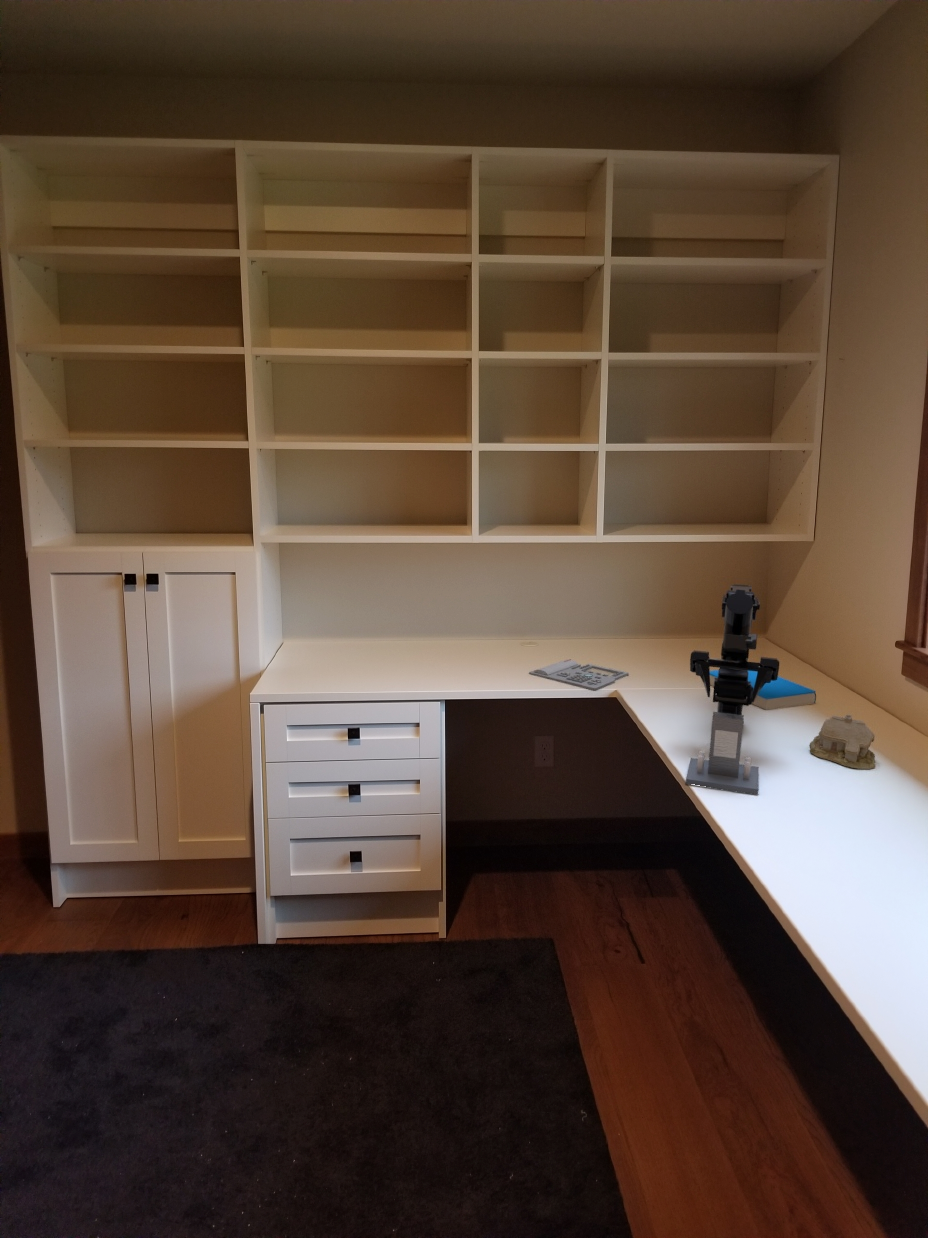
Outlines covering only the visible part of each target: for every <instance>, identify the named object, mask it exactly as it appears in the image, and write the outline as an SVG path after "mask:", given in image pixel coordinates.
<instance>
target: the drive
mask: <svg viewBox="0 0 928 1238" xmlns="http://www.w3.org/2000/svg"><path fill="white" fill-rule="evenodd" d="M744 717H745V716H744V714H742V715H737V714H729V713H720V712H718V711H713V712H712V720H711V729H710V731H711V733H710V740H709V741H710V743H709V752H708V760H709V764H708V774H714V775H721V776H728V777H735V778H738V773H739V764H740V762H741V761H740V760H741V749H742V740H743V729H744V728H743V727H744V724H743V721H744Z"/></svg>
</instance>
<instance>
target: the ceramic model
mask: <svg viewBox="0 0 928 1238" xmlns="http://www.w3.org/2000/svg"><path fill="white" fill-rule="evenodd" d="M874 741H875V734H874V732H873V731H872V730H871V729H870V728H869V727H868V726H867V725H866V722H865V721H863V720H858V719H853V716H852V715H851V714H845V716H844V717H842V716H838V715H832V716H831V717H830V718H827V719H825V721H824V722H823V724H822V726H821V728H820V731H819V732H818V735H816V736H814V738H813V740H812V741H810V742H809V752H810V753H811V754H812V755H814V756H815V757H818V758H820V759H823V760H828V761H831V762H835V763H837V764H839V765H842V766H845V767H848V768H852V769H859V770H860V769H862V770H870V769H871V770H872V769H875V768H876V764H875V763H876V761H875V759H876V755H875V754H876V753H874V752H873V751H872V750H871V749H870V747H871V745H872V743H873V742H874Z"/></svg>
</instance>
